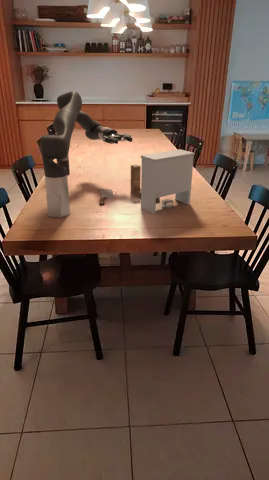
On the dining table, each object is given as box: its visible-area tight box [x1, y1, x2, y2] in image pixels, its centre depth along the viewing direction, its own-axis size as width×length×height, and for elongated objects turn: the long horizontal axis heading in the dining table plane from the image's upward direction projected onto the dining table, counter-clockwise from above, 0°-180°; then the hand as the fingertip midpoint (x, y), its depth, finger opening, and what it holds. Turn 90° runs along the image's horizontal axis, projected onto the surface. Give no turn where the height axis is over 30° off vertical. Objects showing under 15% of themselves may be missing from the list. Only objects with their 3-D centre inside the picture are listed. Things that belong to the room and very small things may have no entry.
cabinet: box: [140, 149, 196, 215], centre depth 162 cm, size 10×23×24 cm, turn 126°
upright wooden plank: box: [130, 164, 161, 203], centre depth 176 cm, size 18×4×14 cm, turn 36°
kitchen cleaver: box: [97, 188, 116, 206], centre depth 178 cm, size 24×1×10 cm
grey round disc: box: [161, 198, 174, 210], centre depth 166 cm, size 5×5×3 cm
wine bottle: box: [56, 133, 71, 176], centre depth 209 cm, size 7×7×30 cm
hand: (124, 140), depth 182 cm, fingers open, 8 cm apart
